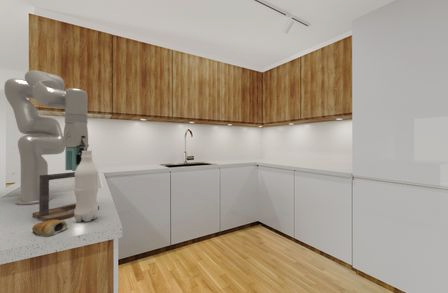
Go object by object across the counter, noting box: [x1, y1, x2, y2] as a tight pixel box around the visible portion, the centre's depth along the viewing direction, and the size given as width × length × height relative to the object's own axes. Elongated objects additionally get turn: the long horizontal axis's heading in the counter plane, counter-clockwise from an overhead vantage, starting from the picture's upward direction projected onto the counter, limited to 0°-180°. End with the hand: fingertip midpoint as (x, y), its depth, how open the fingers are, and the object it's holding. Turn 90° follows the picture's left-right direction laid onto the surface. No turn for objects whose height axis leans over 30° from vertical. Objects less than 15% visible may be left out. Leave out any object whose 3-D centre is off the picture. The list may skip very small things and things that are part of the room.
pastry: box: [31, 219, 68, 237], centre depth 65 cm, size 9×7×4 cm
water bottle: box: [73, 150, 99, 223], centre depth 75 cm, size 7×7×25 cm
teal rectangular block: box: [64, 147, 81, 172], centre depth 84 cm, size 6×5×9 cm
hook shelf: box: [31, 171, 100, 222], centre depth 82 cm, size 13×17×16 cm
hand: (76, 163), depth 84 cm, fingers closed on teal rectangular block, 5 cm apart
